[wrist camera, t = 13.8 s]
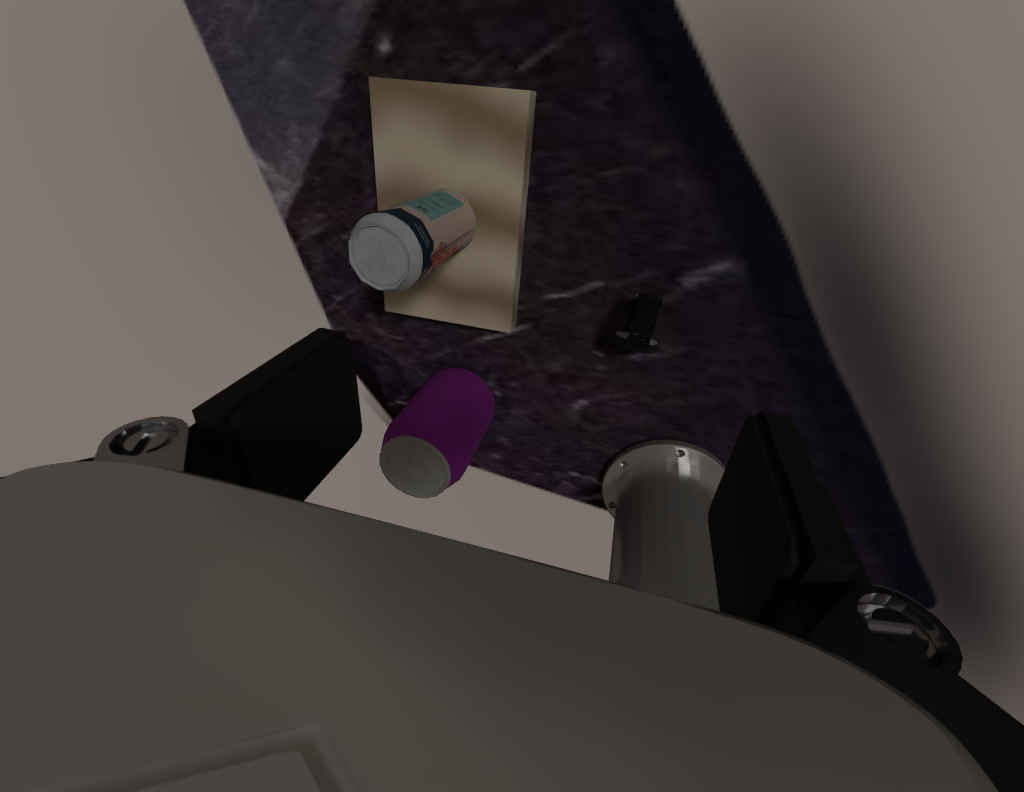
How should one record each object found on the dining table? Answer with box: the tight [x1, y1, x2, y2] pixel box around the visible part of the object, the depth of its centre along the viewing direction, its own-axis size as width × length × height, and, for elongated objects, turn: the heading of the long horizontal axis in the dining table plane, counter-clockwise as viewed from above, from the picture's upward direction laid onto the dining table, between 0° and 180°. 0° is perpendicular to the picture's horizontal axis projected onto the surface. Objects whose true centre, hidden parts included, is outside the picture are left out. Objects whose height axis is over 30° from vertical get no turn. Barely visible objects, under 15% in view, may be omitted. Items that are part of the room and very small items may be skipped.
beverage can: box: [380, 368, 495, 498], centre depth 44 cm, size 8×8×12 cm
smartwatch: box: [612, 293, 662, 354], centre depth 38 cm, size 4×5×5 cm
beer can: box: [349, 189, 476, 292], centre depth 33 cm, size 5×5×12 cm
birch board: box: [369, 77, 536, 333], centre depth 39 cm, size 18×12×2 cm, turn 177°
